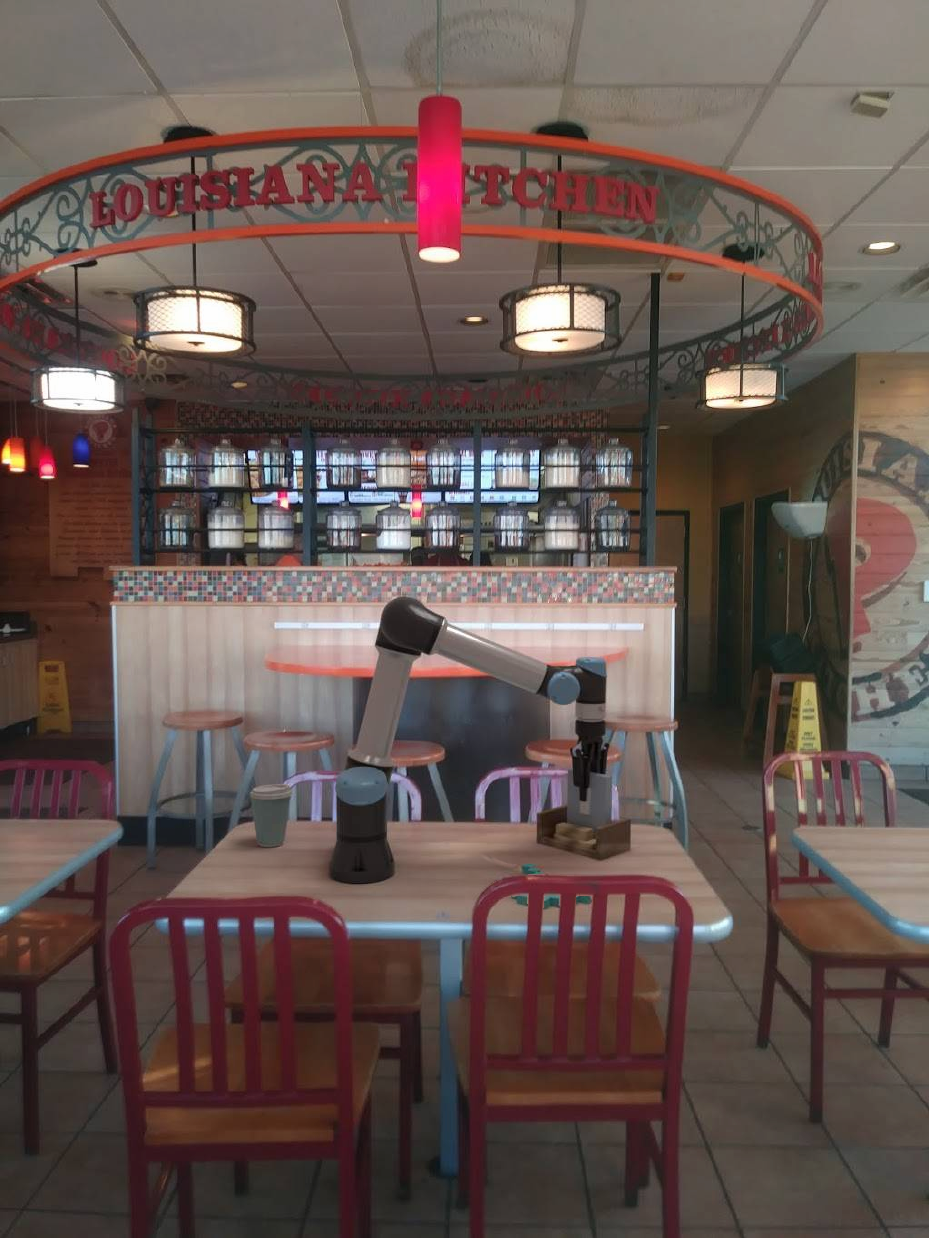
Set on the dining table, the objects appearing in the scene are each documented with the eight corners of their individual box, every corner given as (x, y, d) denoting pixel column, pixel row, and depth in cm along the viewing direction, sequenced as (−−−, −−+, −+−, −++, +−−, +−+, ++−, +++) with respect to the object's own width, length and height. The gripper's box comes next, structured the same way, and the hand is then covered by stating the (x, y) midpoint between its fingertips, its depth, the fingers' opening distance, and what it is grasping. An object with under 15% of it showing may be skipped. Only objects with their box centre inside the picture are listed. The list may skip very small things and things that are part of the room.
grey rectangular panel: (566, 835, 224) (567, 769, 223) (573, 833, 225) (573, 768, 225) (605, 846, 215) (606, 777, 214) (611, 844, 217) (612, 776, 216)
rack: (536, 848, 221) (536, 812, 221) (566, 838, 230) (566, 804, 229) (600, 866, 207) (601, 829, 207) (630, 855, 215) (630, 819, 215)
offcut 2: (553, 844, 220) (553, 834, 220) (563, 840, 223) (563, 831, 222) (591, 854, 211) (592, 844, 211) (602, 851, 214) (602, 841, 214)
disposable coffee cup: (242, 848, 221) (241, 789, 220) (262, 836, 232) (261, 780, 231) (281, 851, 219) (280, 792, 218) (299, 839, 229) (298, 782, 228)
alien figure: (526, 872, 205) (488, 899, 187) (526, 863, 204) (488, 889, 187) (608, 886, 195) (576, 916, 178) (608, 876, 195) (577, 906, 177)
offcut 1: (555, 834, 219) (555, 824, 219) (562, 832, 222) (563, 822, 221) (586, 841, 213) (586, 831, 213) (593, 838, 216) (593, 828, 216)
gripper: (583, 724, 211) (581, 821, 212) (621, 717, 222) (619, 809, 223) (558, 720, 216) (557, 815, 217) (597, 714, 227) (596, 804, 228)
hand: (589, 812), depth 220 cm, fingers closed on grey rectangular panel, 2 cm apart
